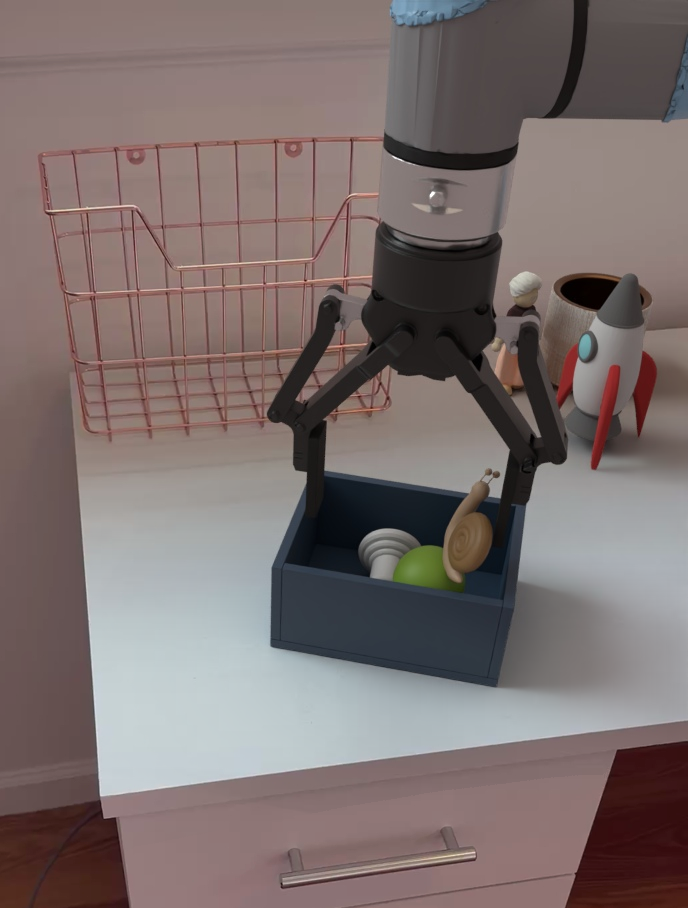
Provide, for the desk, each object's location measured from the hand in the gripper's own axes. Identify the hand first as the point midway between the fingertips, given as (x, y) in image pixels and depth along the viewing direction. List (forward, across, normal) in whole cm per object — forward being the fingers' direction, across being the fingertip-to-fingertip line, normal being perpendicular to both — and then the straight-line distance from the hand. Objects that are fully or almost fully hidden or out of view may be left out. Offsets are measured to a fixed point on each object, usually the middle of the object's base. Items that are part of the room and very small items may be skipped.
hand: (405, 522), depth 75 cm
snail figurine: (+7, +1, 0) cm, 7 cm away
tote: (+10, 0, +2) cm, 11 cm away
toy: (+11, +16, +34) cm, 39 cm away
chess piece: (+7, -1, +6) cm, 9 cm away
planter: (+11, +14, +48) cm, 52 cm away
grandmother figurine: (+11, +6, +44) cm, 45 cm away
